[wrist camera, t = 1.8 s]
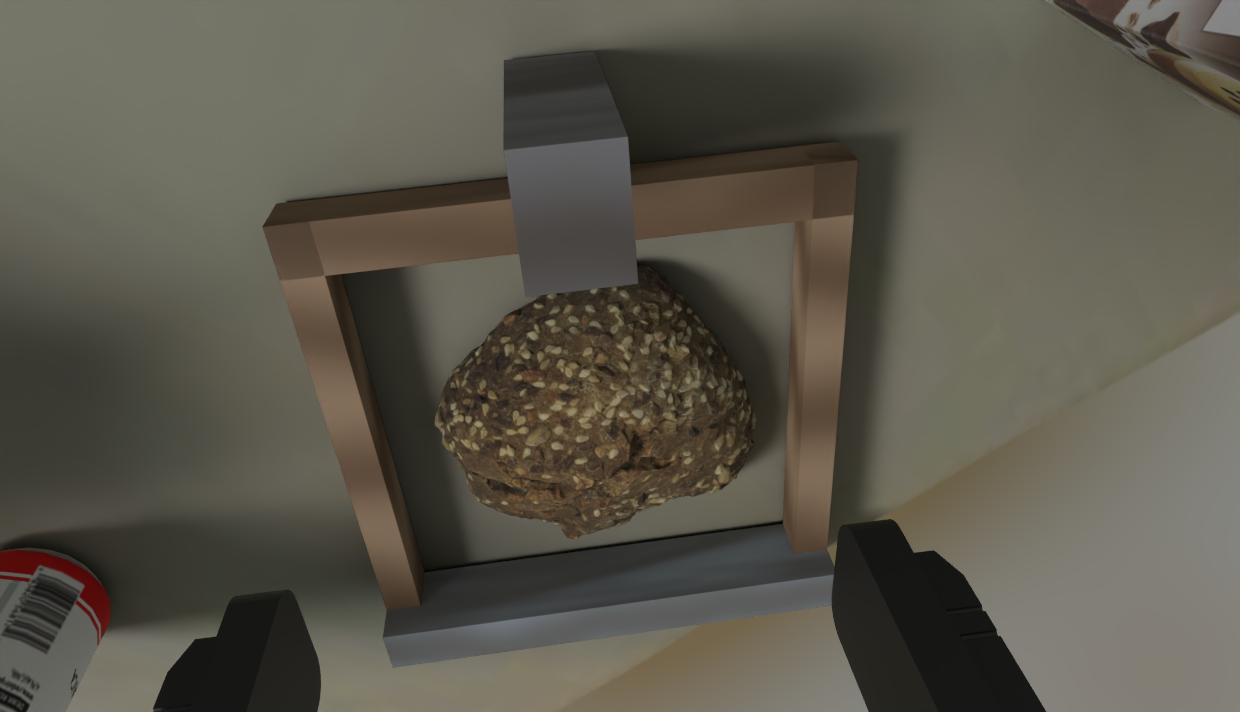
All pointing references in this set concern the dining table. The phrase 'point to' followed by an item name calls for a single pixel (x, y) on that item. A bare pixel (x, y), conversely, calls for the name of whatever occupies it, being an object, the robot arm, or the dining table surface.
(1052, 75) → the dining table surface
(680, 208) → the frame
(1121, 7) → the coffee box
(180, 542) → the dining table surface
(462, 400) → the bread roll
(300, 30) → the dining table surface
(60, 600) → the beer can
